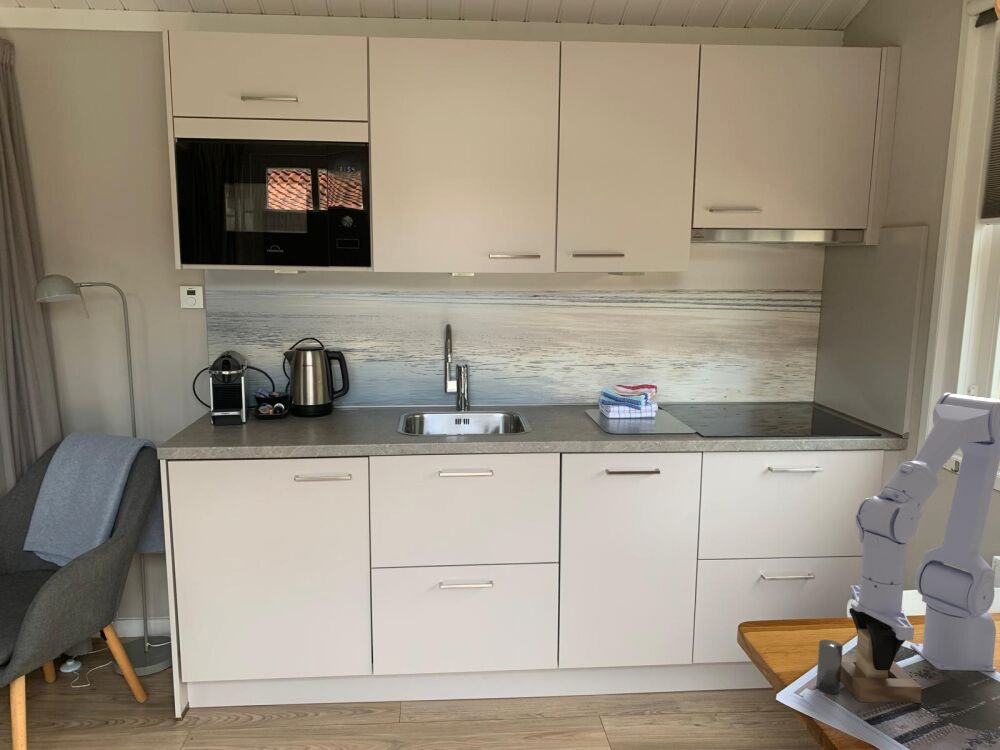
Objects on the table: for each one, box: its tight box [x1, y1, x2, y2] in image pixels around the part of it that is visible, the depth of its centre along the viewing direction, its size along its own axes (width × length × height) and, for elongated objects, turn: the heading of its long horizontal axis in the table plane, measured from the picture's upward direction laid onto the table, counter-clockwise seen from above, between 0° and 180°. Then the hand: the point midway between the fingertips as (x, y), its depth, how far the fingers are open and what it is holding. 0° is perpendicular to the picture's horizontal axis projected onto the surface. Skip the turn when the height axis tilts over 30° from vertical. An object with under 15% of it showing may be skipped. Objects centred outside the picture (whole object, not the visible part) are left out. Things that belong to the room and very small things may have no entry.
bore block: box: [840, 654, 923, 704], centre depth 107 cm, size 9×9×2 cm
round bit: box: [815, 639, 843, 695], centre depth 106 cm, size 3×3×7 cm
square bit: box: [855, 629, 888, 678], centre depth 107 cm, size 3×3×7 cm
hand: (875, 662), depth 107 cm, fingers closed on square bit, 3 cm apart
